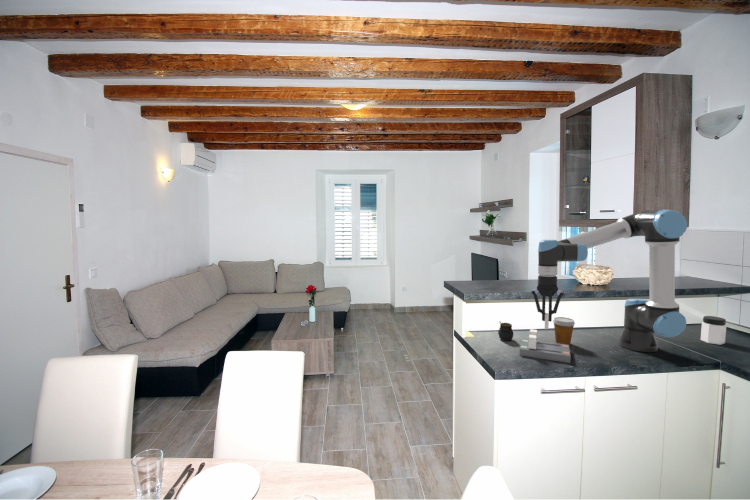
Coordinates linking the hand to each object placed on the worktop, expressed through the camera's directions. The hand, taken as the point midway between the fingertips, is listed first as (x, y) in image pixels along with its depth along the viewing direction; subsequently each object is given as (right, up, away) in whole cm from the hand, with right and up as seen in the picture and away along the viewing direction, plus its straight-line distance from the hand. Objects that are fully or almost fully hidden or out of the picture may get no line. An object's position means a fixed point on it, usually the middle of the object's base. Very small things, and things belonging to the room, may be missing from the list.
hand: (546, 328), depth 160 cm
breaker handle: (-1, -8, +11) cm, 14 cm away
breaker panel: (+1, -13, +5) cm, 14 cm away
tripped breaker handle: (-5, -9, +3) cm, 11 cm away
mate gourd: (-10, -11, +24) cm, 28 cm away
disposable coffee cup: (+16, -12, +18) cm, 27 cm away
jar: (+92, -11, +20) cm, 94 cm away
